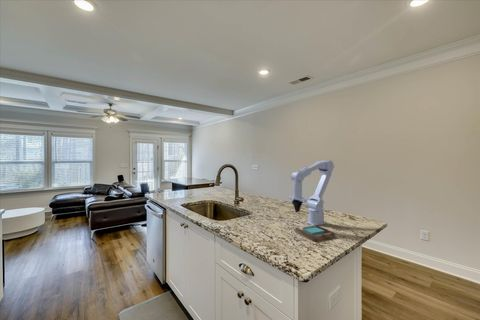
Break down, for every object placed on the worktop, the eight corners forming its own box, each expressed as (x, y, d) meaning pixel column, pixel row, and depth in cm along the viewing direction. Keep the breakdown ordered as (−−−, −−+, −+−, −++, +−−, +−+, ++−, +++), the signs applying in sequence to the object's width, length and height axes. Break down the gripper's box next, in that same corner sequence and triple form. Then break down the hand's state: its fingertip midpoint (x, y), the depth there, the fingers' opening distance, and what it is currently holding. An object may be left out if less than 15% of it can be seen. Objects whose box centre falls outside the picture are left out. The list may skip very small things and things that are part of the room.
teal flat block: (314, 231, 124) (314, 224, 124) (324, 235, 117) (325, 228, 117) (302, 233, 120) (302, 226, 120) (311, 238, 113) (311, 231, 113)
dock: (314, 228, 128) (314, 224, 128) (334, 237, 114) (334, 232, 114) (295, 231, 122) (295, 227, 122) (313, 241, 108) (313, 236, 108)
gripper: (285, 189, 137) (285, 209, 137) (300, 192, 124) (300, 215, 124) (293, 188, 140) (293, 208, 140) (309, 192, 127) (309, 214, 127)
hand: (297, 211), depth 132 cm, fingers closed
